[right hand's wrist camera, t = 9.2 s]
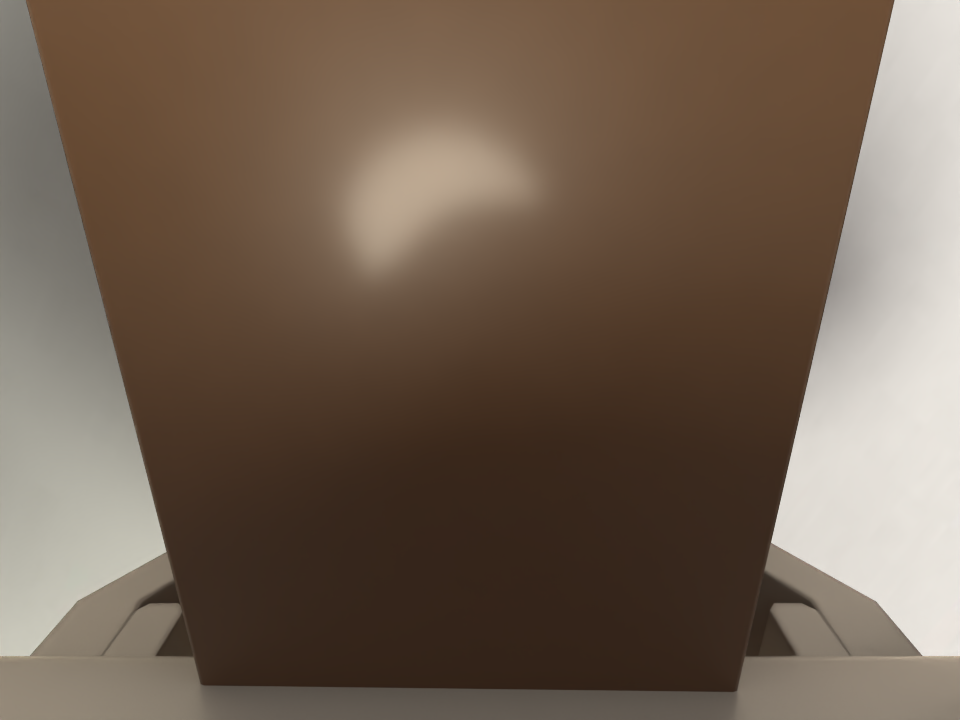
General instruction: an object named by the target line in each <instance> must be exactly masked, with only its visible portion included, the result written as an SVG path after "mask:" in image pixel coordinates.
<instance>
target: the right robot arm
mask: <svg viewBox="0 0 960 720" xmlns="http://www.w3.org/2000/svg"><path fill="white" fill-rule="evenodd" d="M0 720H960V656H922V655H921V654H920V652H919V651H918V650H917V649H916V648H915V647H914V645H913V644H912V643H911V642H910V641H909V640H908V638H907V637H906V636H905V635H904V634H903V633H902V631H901V630H900V629H899V628H898V627H897V626H896V624H895V623H894V622H893V621H892V620H891V618H890V617H889V616H888V615H887V614H886V613H885V611H884V610H883V609H882V608H881V607H880V606H879V604H878V603H877V602H876V601H874V600H872V599H870V598H869V597H867V596H865V595H863V594H861V593H860V592H858V591H856V590H854V589H852V588H851V587H849V586H847V585H845V584H844V583H842V582H840V581H838V580H836V579H835V578H833V577H831V576H829V575H827V574H826V573H824V572H822V571H820V570H818V569H817V568H815V567H813V566H811V565H810V564H808V563H806V562H804V561H802V560H801V559H799V558H797V557H795V556H793V555H792V554H790V553H788V552H786V551H784V550H783V549H781V548H779V547H777V546H775V545H774V544H772V543H771V544H770V549H769V553H768V557H767V562H766V566H765V571H764V575H763V579H762V584H761V588H760V592H759V597H758V601H757V606H756V610H755V614H754V619H753V623H752V628H751V632H750V636H749V641H748V645H747V650H746V654H745V658H744V663H743V667H742V671H741V676H740V680H739V685H738V689H737V691H735V692H689V691H608V690H527V689H446V688H365V687H284V686H204V685H202V684H200V680H199V676H198V672H197V668H196V664H195V661H194V657H193V653H192V649H191V645H190V641H189V637H188V633H187V629H186V625H185V621H184V617H183V614H182V610H181V606H180V602H179V598H178V594H177V590H176V586H175V582H174V578H173V574H172V570H171V567H170V563H169V559H168V555H167V552H166V553H164V554H162V555H160V556H158V557H157V558H155V559H153V560H151V561H149V562H148V563H146V564H144V565H142V566H140V567H139V568H137V569H135V570H133V571H131V572H129V573H128V574H126V575H124V576H122V577H120V578H119V579H117V580H115V581H113V582H111V583H110V584H108V585H106V586H104V587H102V588H100V589H99V590H97V591H95V592H93V593H91V594H90V595H88V596H86V597H84V598H82V599H81V600H79V601H77V603H76V604H75V605H74V606H73V607H72V608H71V609H70V611H69V612H68V613H67V614H66V615H65V616H64V617H63V619H62V620H61V621H60V622H59V623H58V624H57V625H56V627H55V628H54V629H53V630H52V631H51V632H50V634H49V635H48V636H47V637H46V638H45V639H44V640H43V642H42V643H41V644H40V645H39V646H38V647H37V648H36V650H35V651H34V652H33V653H32V654H31V655H30V656H0Z"/></svg>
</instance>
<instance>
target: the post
mask: <svg viewBox="0 0 960 720" xmlns="http://www.w3.org/2000/svg"><path fill="white" fill-rule="evenodd" d="M26 3H27V6H28V10H29V14H30V18H31V22H32V26H33V30H34V34H35V38H36V42H37V46H38V50H39V53H40V57H41V61H42V65H43V69H44V73H45V77H46V81H47V85H48V89H49V93H50V97H51V100H52V104H53V108H54V112H55V116H56V120H57V124H58V128H59V132H60V136H61V140H62V144H63V147H64V151H65V155H66V159H67V163H68V167H69V171H70V175H71V179H72V183H73V187H74V191H75V194H76V198H77V202H78V206H79V210H80V214H81V218H82V222H83V226H84V230H85V234H86V238H87V241H88V245H89V249H90V253H91V257H92V261H93V265H94V269H95V273H96V277H97V281H98V285H99V288H100V292H101V296H102V300H103V304H104V308H105V312H106V316H107V320H108V324H109V328H110V332H111V335H112V339H113V343H114V347H115V351H116V355H117V359H118V363H119V367H120V371H121V375H122V379H123V382H124V386H125V390H126V394H127V398H128V402H129V406H130V410H131V414H132V418H133V422H134V426H135V429H136V433H137V437H138V441H139V445H140V449H141V453H142V457H143V461H144V465H145V469H146V473H147V476H148V480H149V484H150V488H151V492H152V496H153V500H154V504H155V508H156V512H157V516H158V520H159V523H160V527H161V531H162V535H163V539H164V543H165V547H166V551H167V555H168V559H169V563H170V567H171V570H172V574H173V578H174V582H175V586H176V590H177V594H178V598H179V602H180V606H181V610H182V614H183V617H184V621H185V625H186V629H187V633H188V637H189V641H190V645H191V649H192V653H193V657H194V661H195V664H196V668H197V672H198V676H199V680H200V684H202V685H204V686H284V687H365V688H446V689H527V690H608V691H689V692H735V691H737V689H738V685H739V680H740V676H741V671H742V667H743V663H744V658H745V654H746V650H747V645H748V641H749V636H750V632H751V628H752V623H753V619H754V614H755V610H756V606H757V601H758V597H759V592H760V588H761V584H762V579H763V575H764V571H765V566H766V562H767V557H768V553H769V549H770V544H771V540H772V535H773V531H774V527H775V522H776V518H777V513H778V509H779V505H780V500H781V496H782V492H783V487H784V483H785V478H786V474H787V470H788V465H789V461H790V456H791V452H792V448H793V443H794V439H795V434H796V430H797V426H798V421H799V417H800V412H801V408H802V404H803V399H804V395H805V391H806V386H807V382H808V377H809V373H810V369H811V364H812V360H813V355H814V351H815V347H816V342H817V338H818V333H819V329H820V325H821V320H822V316H823V312H824V307H825V303H826V298H827V294H828V290H829V285H830V281H831V276H832V272H833V268H834V263H835V259H836V254H837V250H838V246H839V241H840V237H841V232H842V228H843V224H844V219H845V215H846V211H847V206H848V202H849V197H850V193H851V189H852V184H853V180H854V175H855V171H856V167H857V162H858V158H859V153H860V149H861V145H862V140H863V136H864V132H865V127H866V123H867V118H868V114H869V110H870V105H871V101H872V96H873V92H874V88H875V83H876V79H877V74H878V70H879V66H880V61H881V57H882V53H883V48H884V44H885V39H886V35H887V31H888V26H889V22H890V17H891V13H892V9H893V4H894V0H26Z"/></svg>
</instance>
